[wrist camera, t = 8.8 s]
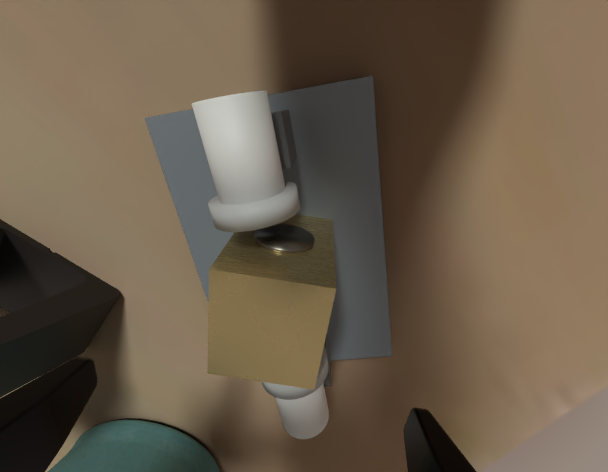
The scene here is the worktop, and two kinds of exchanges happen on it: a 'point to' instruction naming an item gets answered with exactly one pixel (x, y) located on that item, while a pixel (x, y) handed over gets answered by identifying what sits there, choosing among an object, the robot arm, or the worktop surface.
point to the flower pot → (136, 450)
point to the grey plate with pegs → (289, 204)
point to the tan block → (272, 302)
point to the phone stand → (44, 308)
